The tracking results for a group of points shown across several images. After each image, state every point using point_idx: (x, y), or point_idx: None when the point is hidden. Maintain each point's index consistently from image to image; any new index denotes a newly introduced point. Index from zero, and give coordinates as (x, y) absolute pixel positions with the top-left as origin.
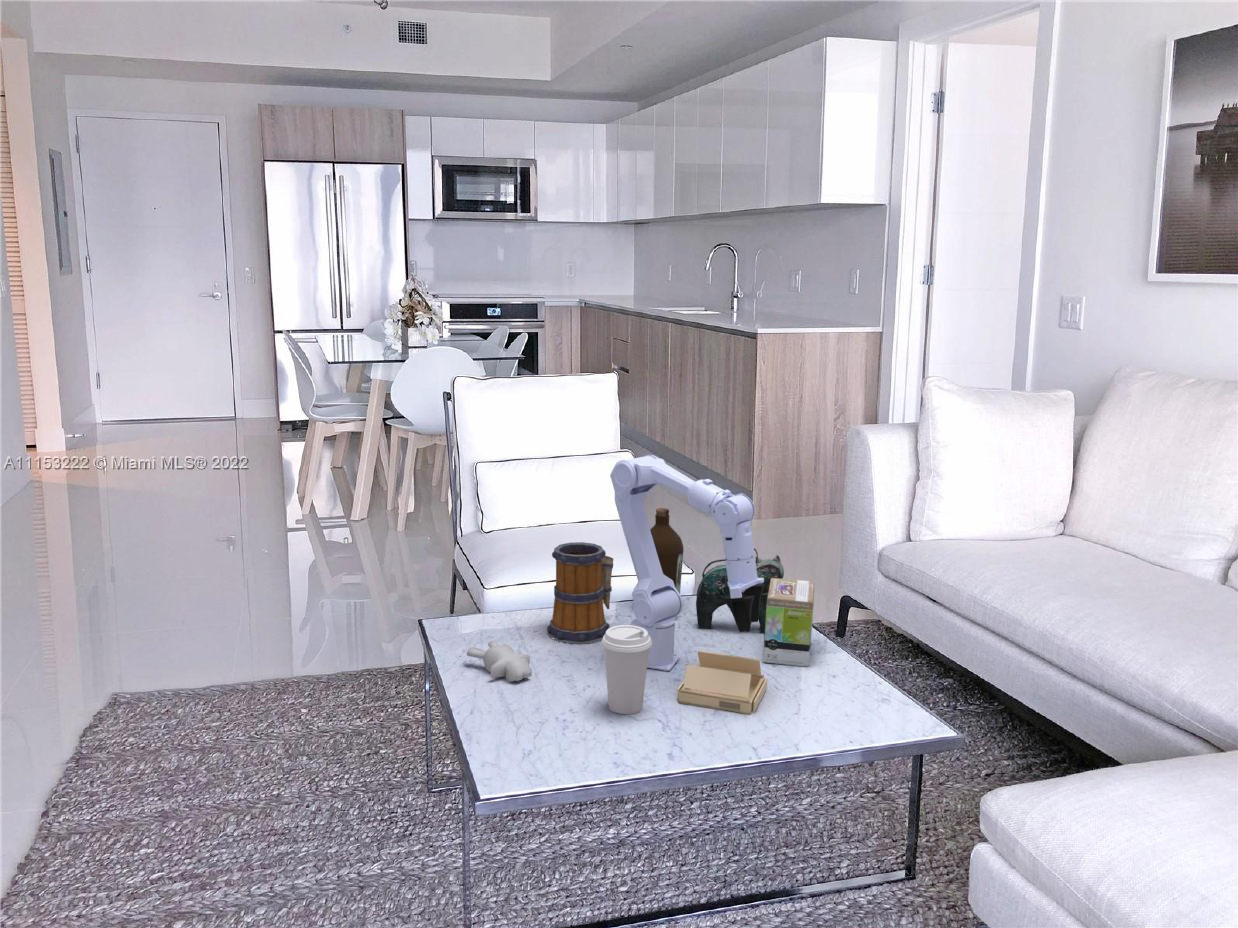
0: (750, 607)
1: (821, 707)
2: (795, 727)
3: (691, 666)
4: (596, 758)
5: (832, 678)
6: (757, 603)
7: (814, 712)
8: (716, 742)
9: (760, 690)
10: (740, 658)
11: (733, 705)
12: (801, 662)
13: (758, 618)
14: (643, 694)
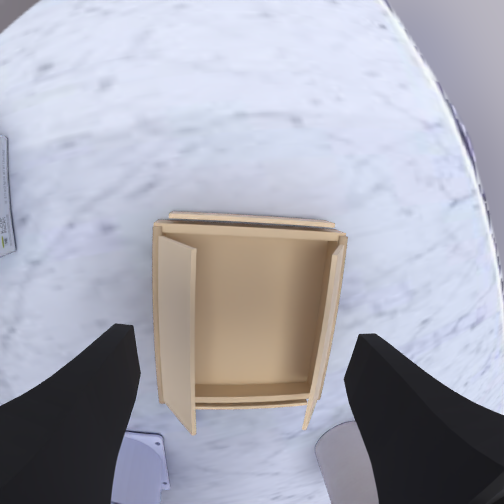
0: (488, 414)
1: (240, 63)
2: (365, 122)
3: (308, 419)
4: (473, 394)
5: (57, 66)
6: (85, 404)
7: (275, 78)
8: (446, 271)
9: (259, 219)
10: (192, 316)
11: None
12: (3, 152)
13: (119, 331)
14: (359, 437)
